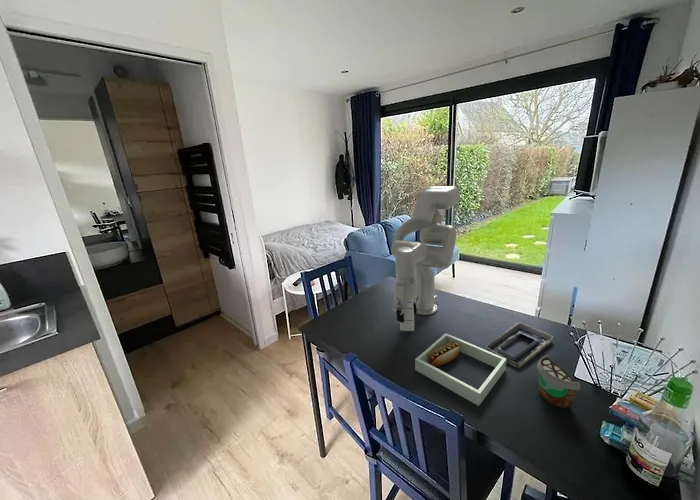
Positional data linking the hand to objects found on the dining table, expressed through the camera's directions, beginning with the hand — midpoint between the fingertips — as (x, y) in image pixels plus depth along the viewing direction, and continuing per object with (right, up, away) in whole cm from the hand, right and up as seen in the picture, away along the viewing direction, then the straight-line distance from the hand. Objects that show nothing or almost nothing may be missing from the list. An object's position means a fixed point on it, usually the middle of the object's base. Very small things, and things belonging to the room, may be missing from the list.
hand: (406, 316), depth 118 cm
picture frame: (+40, -9, -10) cm, 42 cm away
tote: (+14, -14, -20) cm, 28 cm away
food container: (+35, -16, -33) cm, 51 cm away
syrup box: (+1, -5, +2) cm, 5 cm away
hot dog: (+11, -12, -15) cm, 22 cm away
